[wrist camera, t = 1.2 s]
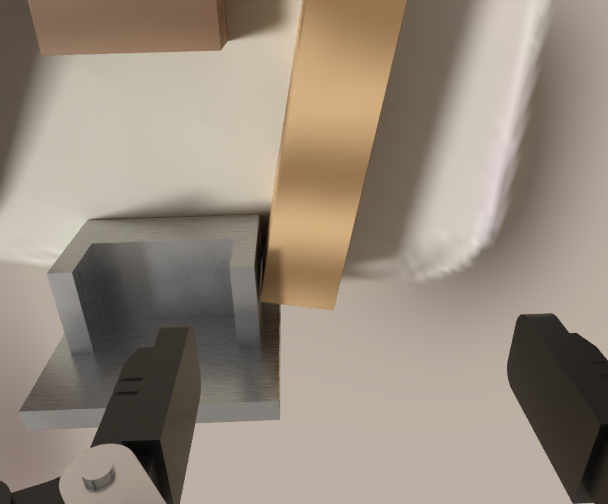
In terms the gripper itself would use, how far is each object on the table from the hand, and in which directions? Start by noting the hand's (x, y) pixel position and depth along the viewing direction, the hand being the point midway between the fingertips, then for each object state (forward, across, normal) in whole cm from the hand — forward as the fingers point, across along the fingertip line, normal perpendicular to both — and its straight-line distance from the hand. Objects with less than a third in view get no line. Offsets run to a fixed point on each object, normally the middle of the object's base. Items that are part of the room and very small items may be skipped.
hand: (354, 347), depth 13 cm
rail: (+18, 0, 0) cm, 18 cm away
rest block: (+18, +8, -7) cm, 21 cm away
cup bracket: (+18, +8, +8) cm, 21 cm away
